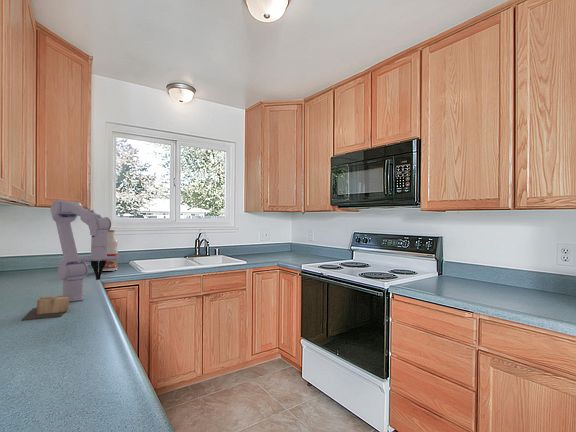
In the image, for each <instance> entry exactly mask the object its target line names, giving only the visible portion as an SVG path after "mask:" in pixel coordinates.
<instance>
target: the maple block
mask: <svg viewBox="0 0 576 432" xmlns="http://www.w3.org/2000/svg"><path fill="white" fill-rule="evenodd" d="M36 308H37V314H46V313H56V312H63V313H64V312H68V311H69V308H70V301H69V295H67V296H63V295H57V296H43V297H39V298H38V299H37V300H36Z"/></svg>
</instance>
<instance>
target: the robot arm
mask: <svg viewBox="0 0 576 432" xmlns="http://www.w3.org/2000/svg"><path fill="white" fill-rule="evenodd" d="M50 213H51V217H52V220H53V221H54V222H55V226H56V230H57V234H58V238H59V242H60V243H59V244H60V246H61V250H62V251H61V252H62V256H63V258H62V259H61V260H60V261H59V262H58V264H57V268H58V269H57V275H58V277H59V278H60V280H61V281H62V296H67V295H69V302H76V301H77V302H79V301H83V300H84V298H85V294H83V292H84V291H83V289H84V288H83V287H84V279H85V278H86V276H87V275H88V273H89V266H88V264H87V263H90V265H91V268H92V270H93V273H94V275H95V276H94V277H95V280H96V281H100V280H101V278H102V277H101V276H102V273H103V272H102V270H103V268H104V266H105V264H106V262H107V261H117V262H119V261H120V257H119V255H118V256H107V238H108V231H109V230H111V228H112V221H111V219H110V217H108V216H107V217H105V216H104V217H103V216H101V214H98V213H96V212H95V210H94V209H86V208H84V207H83V206H82V203H81V202H79V201H78V200H75V201H74V200H71V201H70V200H58V199H55V200H53V201H52V203H51V206H50ZM78 216H79V217H80V220H81V222H83V223H84V224H86V225H87V227H88V228H89V229H88V230H89V235H90V236H91V240H90V241H91V242H90V243H91V244H90V256H83V257H82V256H80V255H78V251H77V250H78V249H77V247H76V242H75V237H74V233H73V229H72V225H71V223H73V222H75V221H76V219H77V218H78Z"/></svg>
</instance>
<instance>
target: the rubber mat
mask: <svg viewBox="0 0 576 432" xmlns="http://www.w3.org/2000/svg"><path fill="white" fill-rule="evenodd" d="M63 314H64V312H56V313H46V314H37V307H33V308H31V310H29V312H27V314H26V315H24V317H22V319H21V321H22V322H23V321H32V320H41V318H43V319H51V318H50V317H52V318H60V317H62V315H63Z"/></svg>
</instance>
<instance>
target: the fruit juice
mask: <svg viewBox="0 0 576 432" xmlns="http://www.w3.org/2000/svg"><path fill="white" fill-rule="evenodd" d="M115 232H116V231H115V229H110V230H109V231H108V238H107V256H119V255H118V254H119V249H118V244H119V241H118V240H117V237H116V236H115ZM110 270H118V261H107V262H106V264H105V266H104V268H103V270H102V271H110Z"/></svg>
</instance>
